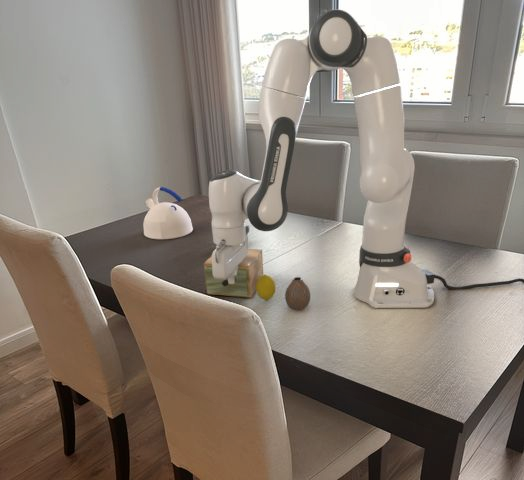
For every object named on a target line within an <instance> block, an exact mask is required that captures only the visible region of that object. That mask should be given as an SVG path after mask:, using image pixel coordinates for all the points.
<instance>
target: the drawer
mask: <svg viewBox="0 0 524 480" xmlns="http://www.w3.org/2000/svg"><path fill="white" fill-rule="evenodd" d="M204 277H206V278H205V285H207V287H206V293H214V294H227V295H239V296H248V295H249V293H248V279H247V269H239V268H238V273H237V280H236V282H235V283H234V284H229V283H228V278H227V279H226V280H219V279H215V278H214V277H213V272H212V267H205V270H204ZM214 294H213V295H214ZM239 296H238V297H239Z"/></svg>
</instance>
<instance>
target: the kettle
mask: <svg viewBox="0 0 524 480" xmlns="http://www.w3.org/2000/svg"><path fill="white" fill-rule="evenodd" d="M160 191H162V192H165V193H166V194H169V195H170V196H172V197H173V198H174V199H175V200H176V201H177V203H181V202H183V201H184V200H183V198H182V197H181V196H180V195H179V194H178V193H177V192H175V191H173V190H171V189H169V188H168V187H164V186H159V187H156V188H155V189H154V190H153V192H152V196H151V197H152V198H148V199H146V201H144V202H145V203H144V204H145V206H146V207H147V208H148V209H149V210H148V211H147V213H146V215H145V217H144V219H143V222H142V226H143V236H144V237H146V238H148V239H151V240H161V241H162V240H163V241H164V240H173V239H174V240H175V239H178V238H182V237H185V236H188V235H189V234H191V233H192V232H193V230H194V227H193V223H192V219H191V217H190V215H189V214H188V212H187V211H186V210H185V209H184V208H183V207H181V206H180V205H179V204H176V203H173V202H165V201H164V202H159V199H158V196H159V195H158V194H159V192H160Z"/></svg>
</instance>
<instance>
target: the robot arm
mask: <svg viewBox="0 0 524 480" xmlns="http://www.w3.org/2000/svg"><path fill="white" fill-rule="evenodd" d="M339 69H342V70H343V71H345V72H346V74H347V76H348V77H349V79H350V84H351V90H352V97H353V103H354V104H353V105H354V111H355V116H356V122H357V123H356V124H357V131H358V156H359V157H358V160H359V182H358V183H359V190H360V192H361V194H362V196H363V197H364V198H365V199H366V200H367V202H366V207H365V211H364V215H363V221H362V238H361V245H360V248H359V253H358V254H359V255H358V256H359V257H358V263H359V269H358V270H359V271H358V274H357V275H358V276H357V280H356V283H355V287H354V289H353V296H354V297H355V298H356V299H358V300H359V301H361V302H363V303H366V304H367V305H369V306H370V307H372V308H374V309H386V308H387V309H393V308H394V309H408V308H409V309H411V308H412V309H418V308H419V309H422V308H423V309H424V308H429V307H431V306H432V305H433V304H434V302H435V290H434V289H433V287H431V286H430V285H432V284H434V283H435V279H437V280H439V281H440V282H442V285H443V287H444V288H445V289H448V290H451V291H454V290H458V291H459V290H469V289H474V288H484V287H485V288H486V287H494V286H495V287H496V286H502V285H503V286H504V285H511V284H515V283H523V284H524V278H515V279H510V280H505V281H494V282H484V283H473V284H468V285H464V286H451V285H449V284H448V283H447V281H446V279H445V278H444V277H442V276H441V275H438V274H435V273H433V272H432V271H430V270H429V269H428V268H423V269H422V268H420V267H419V266H417V265H416V264H415V263H413V261H412V254H411V250H410V247H409V246H407V247H406V246H405V245H404V243H405V231H406V223H407V217H408V216H407V215H408V212H409V206H410V201H411V195H412V189H413V182H414V177H415V170H416V169H415V168H416V165H415V164H416V163H415V159H414V156H413V154H412V153H411V152H410V151H409V149H406V148H405V122H406V121H405V120H406V119H405V112H404V103H403V95H402V87H401V86H402V85H401V81H400V78H401V77H400V73H399V67H398V64H397V60H396V55H395V52H394V49H393V45H392V43H391V41H390V40H389V39H388V38H387V37H385V36H382V35H381V36H380V35H372V36H367V34H366V32H365V31H364V30H363V29H362V27H361V26H360V24H359V23H358V22H357V21H356V19H355V18H354V17H353V16H352V15H351V13H349V12H348V11H346V10H343V9H339V8H332V9H329V10H326V11H324V12H323V13H321V14H320V15H319V16H318V17H317V18H316V20H315V21H314V22H313V25H312V26H311V29H310V31H309V34H308V35H307V37H305V38H304V39H296V38H285V39H281V40H279V41H278V42H277V43H276V44H275V45H274V46H273V50H272V52H271V54H270V57H269V60H268V63H267V65H266V69H265V71H264V75H263V80H262V84H261V86H262V87H261V89H260V93H259V99H258V121H259V123H260V126H261V128H262V131H263V134H264V139H265V146H266V147H265V156H264V162H263V167H262V173H261V179H256V178H255V179H254V178H250V177H249V176H245V175H243V174H242V173H240V171H239V172H238V171H237V170H236V169H226V170H223V171H220V172H217V173H216V174H214V175H213V176H212V177H211V178H210V180H209V182H208V203H209V211H210V213H211V234H212V242H213V244H215V245H216V246H215V249H213V251H212V254H211V256H212V272H213V277H214V278H215V279H219V280H226V279H227V278H228V283H229V284H234V283H235V282H236V280H237V273H238V265H239V264H240V263H241V262H242V260H243V259H244V258H245V257H246V256H247V254H248V249H249V233H250V225H249V224H246V223H245V220H248V221H249V223H250V224H251V226H252V227H253V228H254V229H256V230H258V231H261V232H272V231H274V230H277V229H278V228H280V227H281V226H282V225H283V224H284V222H285V221H286V220H287V217H288V212H289V208H288V207H289V206H288V200H287V187H288V181H289V175H290V170H291V167H292V165H291V164H292V161H293V160H292V159H293V155H294V151H295V149H294V148H295V144H296V139H297V135H298V130H299V127H300V123H301V119H302V116H303V113H304V109H305V104H306V100H307V97H308V93H309V88H310V85H311V82H312V79H313V77H314V75H315V74H316V73H323V72H325V73H326V72H334V71H337V70H339Z"/></svg>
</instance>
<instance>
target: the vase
mask: <svg viewBox="0 0 524 480" xmlns="http://www.w3.org/2000/svg"><path fill="white" fill-rule="evenodd" d="M284 299H285V303H286V305H287V307H288V308H289V309H291V310H292V311H296V312H300V311H301V312H302V311H303V310H305V309H306V308H308V306H309V304H310V301H311V291H310V288H309V286H308V285H307V284H306V282H305V281H304V279H303V278H302V277H299V276H296V277H293V278H292V280H291V282H290V283H289V285H288V286H287V287H286V289H285V294H284Z"/></svg>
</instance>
